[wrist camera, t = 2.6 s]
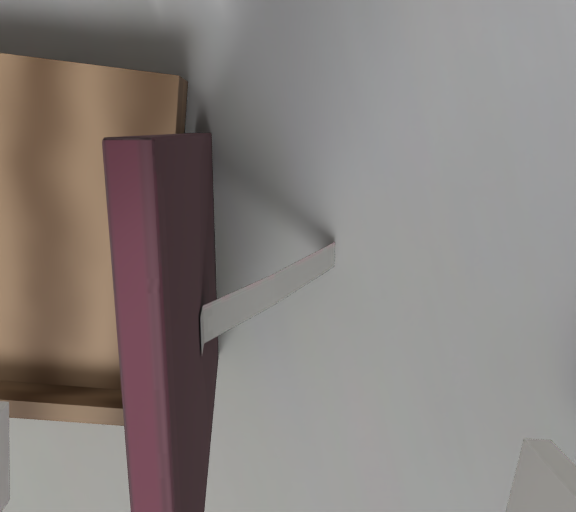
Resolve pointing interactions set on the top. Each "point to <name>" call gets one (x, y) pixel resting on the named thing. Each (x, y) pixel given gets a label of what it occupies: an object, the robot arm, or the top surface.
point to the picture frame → (174, 310)
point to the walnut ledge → (65, 229)
